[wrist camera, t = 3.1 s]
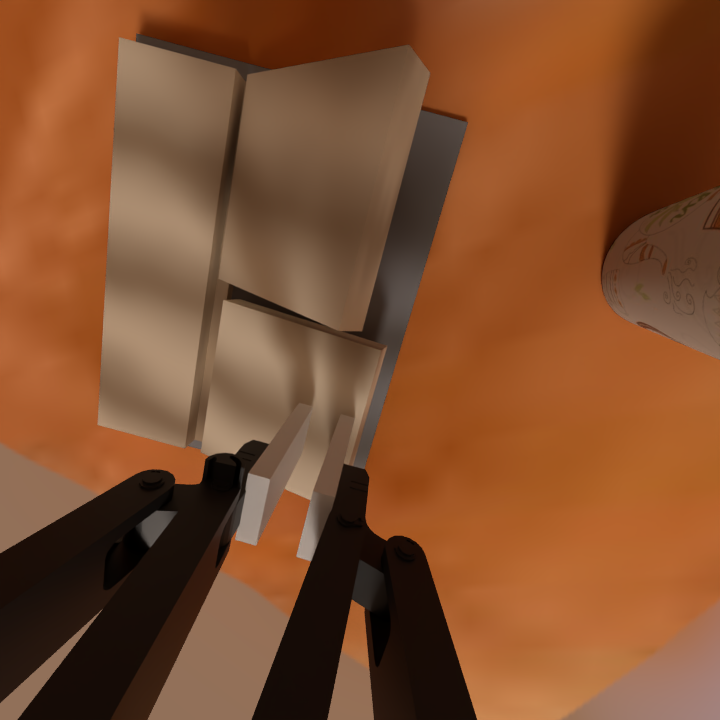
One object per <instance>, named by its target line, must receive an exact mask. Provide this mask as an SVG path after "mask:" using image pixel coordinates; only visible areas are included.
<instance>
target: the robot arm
mask: <svg viewBox="0 0 720 720" xmlns="http://www.w3.org/2000/svg"><path fill="white" fill-rule="evenodd" d="M312 410H313V406H309V405H306V404H302V403H299V404H298V405H297V406H296V408H295V409H294V411H293V412H292V413H291V415H290V416H289V417H288V419H287V420H286V422H285V423H284V424H283V426H282V427H281V429H280V430H279V431H278V433H277V434H276V435H275V437H274V438H273V440H272V441H271V442H270V444H268V443H264V442H261V441H257V440H251V441H249V442H247V443H245V444H244V445H243V446H242V447H241V448H240V449H239V450H238V452H237V453H236V454H232V453H217V454H214V455H211V456H209V457H208V458H207V459H205V466H204V472H203V479H202V481H201V483H200V484H196V485H185V484H175V478H174V476H173V474H171V473H170V472H168V471H164V470H147V471H142V472H140V473H138V474H135V475H134V476H132V477H130V478H128V479H127V480H125V481H123V482H122V483H120V484H118V485H116V486H115V487H113V488H111V489H110V490H108V491H106V492H105V493H103V494H101V495H99V496H98V497H96V498H94V499H93V500H91V501H89V502H87V503H86V504H84V505H82V506H81V507H79V508H77V509H76V510H74V511H72V512H70V513H69V514H67V515H65V516H64V517H62V518H60V519H58V520H57V521H55V522H53V523H51V524H50V525H48V526H46V527H45V528H43V529H41V530H39V531H38V532H36V533H34V534H33V535H31V536H29V537H27V538H26V539H24V540H23V541H21V542H19V543H18V544H16V545H14V546H12V547H10V548H9V549H7V550H5V551H4V552H2V553H0V703H1V702H2V701H3V700H4V699H5V698H6V697H7V696H8V695H9V694H10V693H12V692H13V691H14V690H15V689H16V688H17V687H18V686H19V685H20V684H21V683H22V682H24V680H26V679H27V678H28V677H29V676H30V675H31V674H32V673H33V672H34V671H36V670H37V669H38V668H39V667H40V666H41V665H42V664H43V663H44V662H45V661H46V660H47V659H48V658H50V657H51V656H52V655H53V654H54V653H55V652H56V651H57V650H58V649H59V648H60V647H61V646H63V645H64V644H65V643H66V642H67V641H68V640H69V639H70V638H71V637H72V636H73V635H75V634H76V633H77V632H78V631H79V630H80V629H81V628H82V627H83V626H84V625H86V624H87V623H88V622H89V621H90V620H91V619H92V618H93V617H94V616H95V615H96V614H97V613H99V612H100V610H102V609H103V610H102V611H101V612H100V613H99V615H98V616H97V617H96V619H95V620H94V621H93V623H92V624H91V625H90V626H89V628H88V629H87V630H86V632H85V633H84V634H83V635H82V637H81V638H80V639H79V641H78V642H77V643H76V645H75V646H74V647H73V649H72V650H71V651H70V652H69V654H68V655H67V656H66V658H65V659H64V660H63V661H62V663H61V664H60V665H59V667H58V668H57V669H56V670H55V672H54V673H53V674H52V676H51V677H50V678H49V680H48V681H47V682H46V684H45V685H44V686H43V687H42V689H41V690H40V691H39V693H38V694H37V695H36V696H35V698H34V699H33V700H32V702H31V703H30V704H29V705H28V707H27V708H26V709H25V711H24V712H23V713H22V715H21V716H20V717H19V718H18V720H147V719H148V717H149V715H150V713H151V711H152V709H153V707H154V705H155V703H156V701H157V699H158V696H159V694H160V692H161V690H162V688H163V686H164V684H165V682H166V680H167V678H168V676H169V674H170V672H171V670H172V667H173V665H174V663H175V661H176V659H177V657H178V655H179V653H180V651H181V649H182V647H183V645H184V643H185V640H186V638H187V636H188V634H189V632H190V630H191V628H192V626H193V624H194V622H195V620H196V618H197V616H198V613H199V612H200V609H201V607H202V605H203V603H204V601H205V599H206V597H207V595H208V593H209V591H210V589H211V587H212V584H213V582H214V580H215V578H216V576H217V574H218V572H219V570H220V568H221V566H222V564H223V562H224V560H225V558H226V556H227V553H228V551H229V548H230V543H231V538H232V537H233V535H234V533H235V532H236V530H237V534H236V539H235V540H238V541H242V542H245V543H249V544H252V545H257V543H258V541H259V539H260V537H261V535H262V533H263V531H264V529H265V527H266V525H267V523H268V521H269V519H270V517H271V515H272V513H273V511H274V509H275V507H276V505H277V503H278V500H279V498H280V496H281V494H282V492H283V490H284V488H285V486H286V484H287V482H288V480H289V478H290V476H291V474H292V472H293V470H294V468H295V466H296V464H297V462H298V460H299V458H300V456H301V454H302V452H303V448H304V444H305V439H306V435H307V431H308V427H309V422H310V418H311V414H312ZM354 420H355V418H353V417H350V416H346V415H342V414H341V415H340V418H339V420H338V423H337V426H336V429H335V432H334V434H333V437H332V440H331V443H330V445H329V448H328V451H327V454H326V456H325V459H324V462H323V465H322V467H321V470H320V473H319V476H318V479H317V481H316V484H315V487H314V490H313V493H312V497H311V501H310V505H309V509H308V513H307V517H306V521H305V525H304V528H303V532H302V536H301V540H300V544H299V548H298V552H297V556H296V557H299V558H302V559H306V560H309V561H311V563H310V566H309V568H308V571H307V574H306V576H305V579H304V582H303V584H302V587H301V590H300V592H299V595H298V598H297V600H296V603H295V606H294V608H293V611H292V614H291V616H290V619H289V622H288V624H287V627H286V630H285V633H284V635H283V638H282V640H281V643H280V646H279V648H278V651H277V654H276V656H275V659H274V662H273V664H272V667H271V669H270V672H269V675H268V677H267V680H266V683H265V686H264V688H263V691H262V693H261V696H260V699H259V701H258V704H257V707H256V709H255V712H254V715H253V717H252V720H327V718H328V713H329V708H330V704H331V699H332V694H333V689H334V684H335V679H336V674H337V669H338V663H339V658H340V654H341V649H342V644H343V639H344V634H345V629H346V624H347V620H348V615H349V610H350V605H351V600H354V601H355V602H357V603H358V604H360V605H361V606H363V607H364V608H365V623H366V634H367V645H368V657H369V668H370V679H371V690H372V701H373V713H374V720H477V718H476V714H475V711H474V708H473V705H472V702H471V699H470V695H469V692H468V689H467V686H466V683H465V679H464V676H463V673H462V670H461V667H460V664H459V660H458V657H457V654H456V651H455V648H454V644H453V641H452V638H451V635H450V632H449V629H448V625H447V622H446V619H445V616H444V613H443V610H442V606H441V603H440V600H439V597H438V594H437V590H436V587H435V584H434V581H433V578H432V575H431V571H430V568H429V565H428V562H427V559H426V556H425V553H424V551H423V549H422V548H421V547H420V546H419V545H418V544H417V543H416V542H415V541H413V540H412V539H410V538H407V537H404V536H393V537H391V538H389V539H388V541H386V540H384V539H382V538H380V537H379V536H377V535H376V534H374V533H373V532H372V531H371V530H370V528H369V527H368V525H367V523H366V520H365V514H366V504H367V495H368V485H369V476H368V474H367V472H366V470H365V469H362V468H358V467H354V466H351V465H347V464H344V460H345V456H346V452H347V448H348V444H349V440H350V436H351V432H352V428H353V424H354Z"/></svg>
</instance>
